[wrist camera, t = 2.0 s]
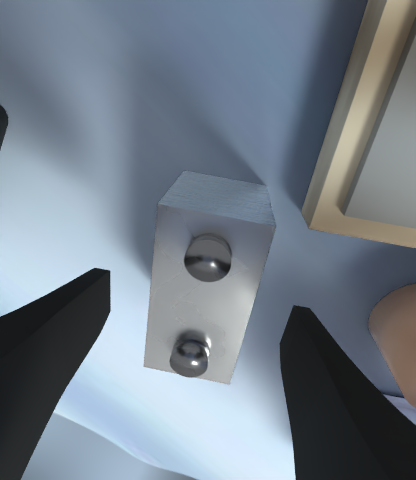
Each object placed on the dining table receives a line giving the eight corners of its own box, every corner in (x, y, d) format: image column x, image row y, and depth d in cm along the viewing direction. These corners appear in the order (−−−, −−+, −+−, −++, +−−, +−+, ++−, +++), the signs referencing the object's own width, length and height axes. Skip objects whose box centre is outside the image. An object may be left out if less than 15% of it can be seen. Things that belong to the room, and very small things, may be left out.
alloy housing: (233, 311, 18) (228, 396, 13) (168, 298, 18) (139, 378, 13) (265, 184, 14) (278, 234, 9) (184, 169, 14) (152, 209, 9)
